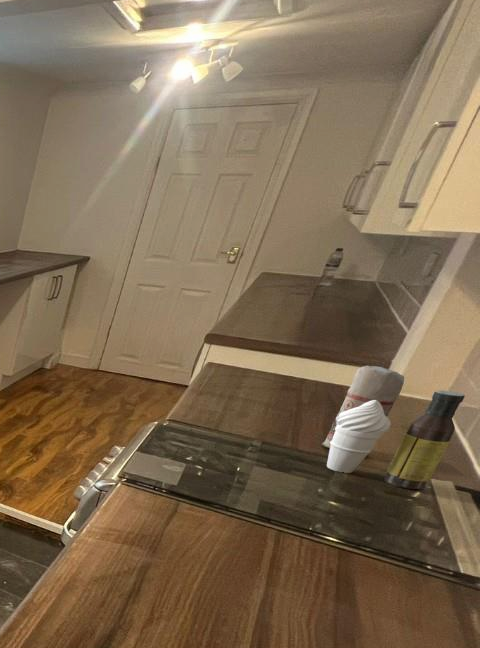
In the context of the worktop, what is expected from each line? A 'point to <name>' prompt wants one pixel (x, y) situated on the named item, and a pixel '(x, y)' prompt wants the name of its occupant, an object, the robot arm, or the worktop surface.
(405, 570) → the worktop surface
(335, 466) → the ice cream cone
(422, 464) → the sauce bottle
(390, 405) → the spray can
